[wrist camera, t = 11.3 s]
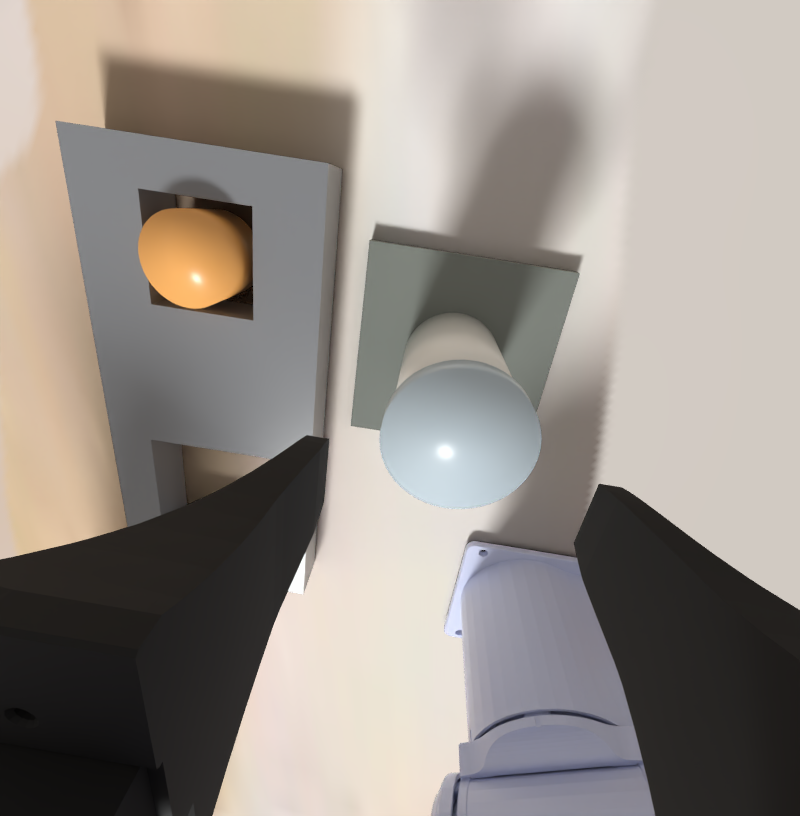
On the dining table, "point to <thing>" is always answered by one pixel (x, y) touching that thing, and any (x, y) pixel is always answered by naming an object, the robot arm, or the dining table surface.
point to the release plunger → (197, 255)
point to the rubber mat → (455, 293)
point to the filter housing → (204, 327)
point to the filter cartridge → (458, 418)
